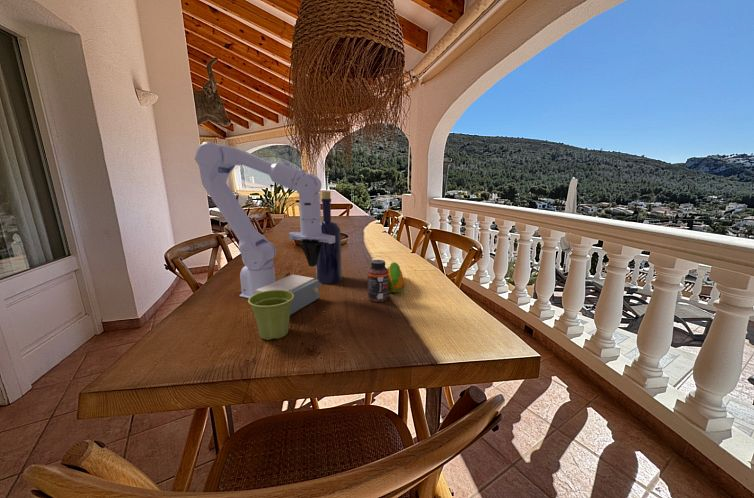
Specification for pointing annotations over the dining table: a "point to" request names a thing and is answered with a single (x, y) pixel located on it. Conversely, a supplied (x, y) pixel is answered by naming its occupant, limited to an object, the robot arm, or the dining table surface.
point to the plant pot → (272, 312)
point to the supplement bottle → (378, 281)
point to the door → (304, 295)
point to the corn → (395, 278)
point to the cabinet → (287, 283)
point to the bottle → (329, 247)
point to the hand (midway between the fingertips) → (312, 265)
